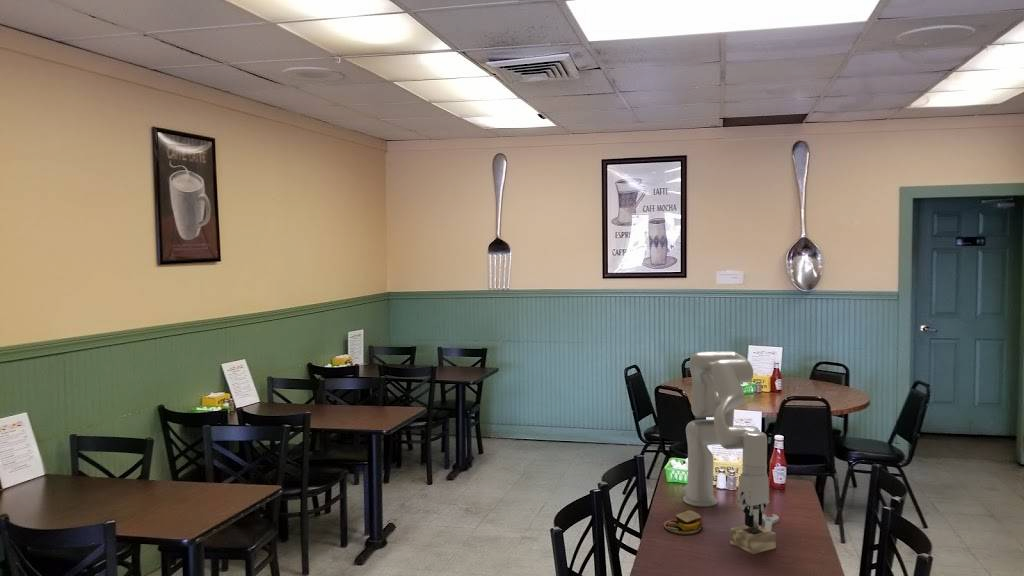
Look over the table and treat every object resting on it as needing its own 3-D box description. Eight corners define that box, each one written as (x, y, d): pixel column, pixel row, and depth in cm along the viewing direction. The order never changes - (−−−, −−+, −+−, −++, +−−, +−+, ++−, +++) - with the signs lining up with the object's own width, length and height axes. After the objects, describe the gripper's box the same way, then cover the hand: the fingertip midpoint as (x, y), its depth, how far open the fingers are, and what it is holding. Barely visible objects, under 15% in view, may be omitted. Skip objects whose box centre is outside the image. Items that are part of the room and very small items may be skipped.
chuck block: (730, 543, 251) (730, 528, 250) (752, 537, 255) (752, 523, 255) (753, 554, 242) (753, 538, 242) (775, 548, 247) (775, 533, 246)
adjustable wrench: (770, 544, 251) (770, 539, 251) (750, 541, 254) (750, 536, 254) (779, 519, 274) (779, 514, 274) (761, 516, 277) (761, 512, 276)
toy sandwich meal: (657, 524, 268) (657, 511, 268) (691, 520, 272) (691, 507, 272) (674, 537, 256) (675, 523, 256) (710, 533, 260) (710, 519, 260)
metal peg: (745, 532, 249) (746, 503, 248) (753, 530, 250) (753, 502, 250) (753, 535, 246) (754, 506, 245) (761, 533, 247) (761, 505, 247)
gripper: (763, 463, 254) (762, 517, 255) (727, 470, 247) (726, 525, 247) (781, 469, 248) (780, 524, 249) (744, 476, 240) (743, 533, 241)
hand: (753, 524), depth 248 cm, fingers closed on metal peg, 3 cm apart
